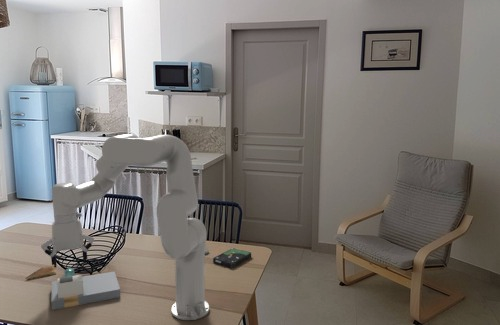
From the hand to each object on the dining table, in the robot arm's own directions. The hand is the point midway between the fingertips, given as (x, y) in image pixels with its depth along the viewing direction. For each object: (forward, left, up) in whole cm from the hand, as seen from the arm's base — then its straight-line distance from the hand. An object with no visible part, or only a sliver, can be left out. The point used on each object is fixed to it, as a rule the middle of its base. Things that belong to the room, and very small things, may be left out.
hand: (70, 263), depth 148 cm
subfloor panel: (-4, -5, -11) cm, 12 cm away
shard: (+19, +9, -11) cm, 24 cm away
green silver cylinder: (0, 0, -11) cm, 11 cm away
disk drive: (+3, -65, -11) cm, 66 cm away
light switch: (+19, -52, -11) cm, 56 cm away
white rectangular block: (-8, 0, -8) cm, 11 cm away
